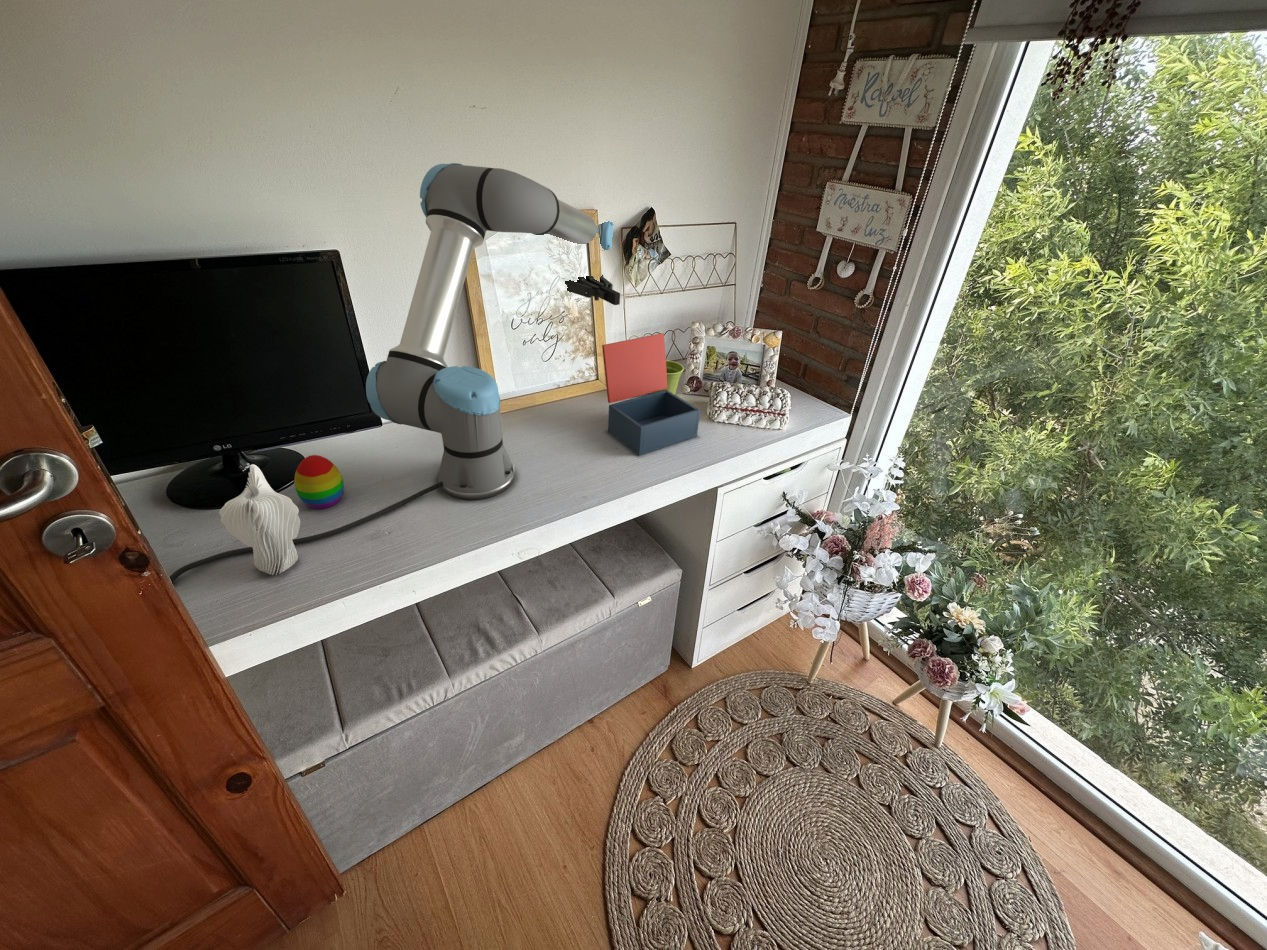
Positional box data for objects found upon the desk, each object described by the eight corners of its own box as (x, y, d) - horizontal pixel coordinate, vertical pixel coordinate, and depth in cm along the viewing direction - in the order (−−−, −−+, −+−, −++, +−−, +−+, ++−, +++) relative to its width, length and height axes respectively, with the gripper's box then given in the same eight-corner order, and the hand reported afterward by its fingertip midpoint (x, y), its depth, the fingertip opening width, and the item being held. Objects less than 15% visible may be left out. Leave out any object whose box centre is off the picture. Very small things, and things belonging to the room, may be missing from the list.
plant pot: (664, 385, 167) (667, 357, 162) (687, 397, 161) (690, 368, 156) (639, 393, 161) (641, 364, 157) (662, 406, 155) (665, 376, 151)
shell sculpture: (278, 589, 93) (243, 498, 83) (240, 574, 95) (202, 483, 85) (319, 558, 99) (291, 470, 89) (283, 545, 101) (252, 457, 92)
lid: (664, 333, 141) (662, 333, 142) (603, 345, 132) (601, 345, 133) (667, 388, 146) (665, 387, 147) (609, 403, 138) (608, 402, 138)
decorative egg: (291, 506, 111) (276, 462, 105) (323, 485, 117) (311, 442, 112) (325, 517, 108) (311, 472, 103) (356, 494, 115) (345, 451, 110)
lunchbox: (697, 436, 142) (700, 410, 138) (639, 455, 133) (641, 427, 129) (664, 415, 151) (666, 389, 147) (607, 431, 142) (608, 404, 138)
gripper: (588, 286, 159) (638, 310, 144) (546, 292, 153) (594, 318, 137) (588, 258, 155) (640, 280, 139) (545, 262, 148) (594, 286, 133)
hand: (617, 299), depth 138 cm, fingers closed
